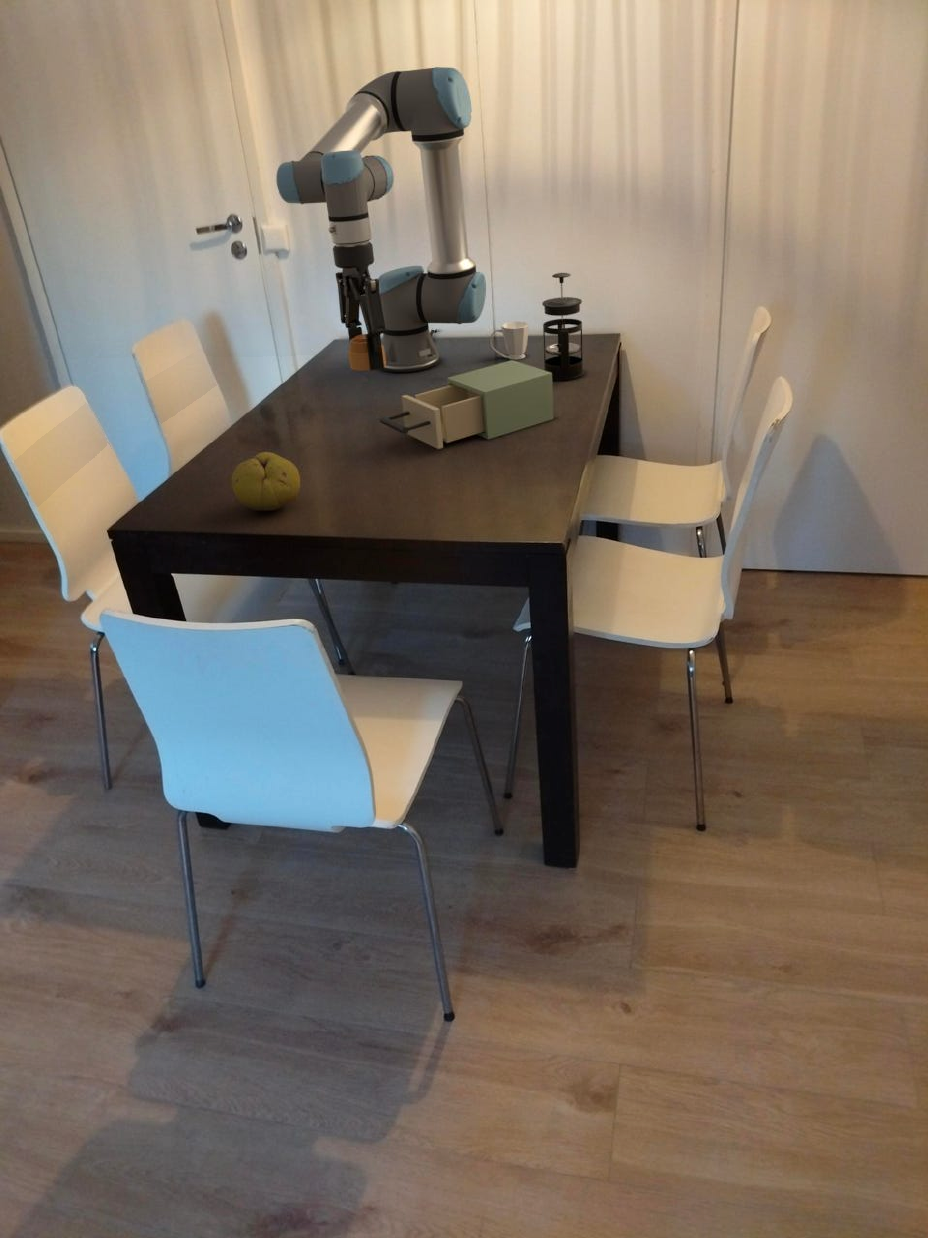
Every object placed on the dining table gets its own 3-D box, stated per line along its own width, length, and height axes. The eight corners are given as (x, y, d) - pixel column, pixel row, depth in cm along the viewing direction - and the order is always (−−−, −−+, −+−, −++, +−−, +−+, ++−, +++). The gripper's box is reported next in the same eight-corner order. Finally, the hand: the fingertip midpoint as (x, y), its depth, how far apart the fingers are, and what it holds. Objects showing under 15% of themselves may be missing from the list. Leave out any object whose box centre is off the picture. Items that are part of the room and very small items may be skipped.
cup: (529, 360, 233) (527, 327, 229) (489, 361, 235) (487, 329, 231) (531, 352, 239) (530, 320, 235) (493, 354, 241) (491, 322, 237)
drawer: (409, 458, 180) (405, 418, 176) (378, 441, 189) (373, 403, 185) (502, 429, 190) (500, 391, 186) (468, 414, 199) (465, 378, 195)
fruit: (247, 497, 172) (236, 446, 167) (310, 494, 171) (300, 442, 166) (232, 524, 162) (220, 470, 157) (299, 520, 162) (288, 466, 156)
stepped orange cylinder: (348, 363, 190) (344, 334, 187) (383, 358, 191) (379, 329, 188) (352, 372, 183) (348, 343, 180) (388, 367, 185) (385, 338, 182)
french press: (542, 369, 226) (539, 270, 214) (581, 366, 225) (580, 267, 213) (545, 384, 216) (542, 281, 204) (586, 381, 215) (585, 277, 203)
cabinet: (488, 439, 188) (484, 392, 183) (450, 423, 198) (446, 377, 193) (553, 418, 195) (552, 372, 190) (514, 404, 206) (512, 359, 200)
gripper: (311, 240, 181) (329, 358, 193) (358, 252, 166) (375, 379, 178) (346, 234, 184) (361, 351, 196) (395, 245, 169) (408, 370, 181)
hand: (367, 364), depth 187 cm, fingers closed on stepped orange cylinder, 7 cm apart
